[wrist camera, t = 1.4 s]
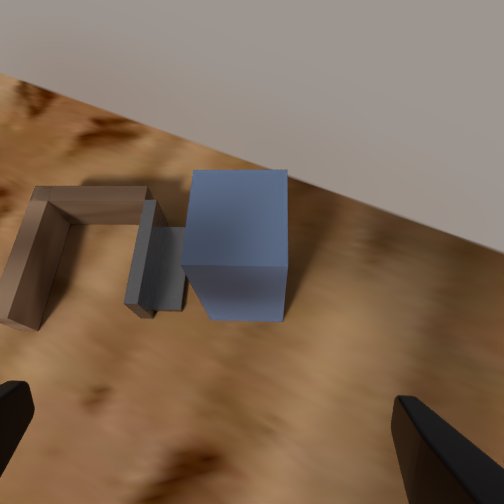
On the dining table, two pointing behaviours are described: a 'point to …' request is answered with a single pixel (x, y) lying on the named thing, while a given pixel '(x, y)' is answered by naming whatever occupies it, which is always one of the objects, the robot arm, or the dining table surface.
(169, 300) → the bookend
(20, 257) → the rack
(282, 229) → the book
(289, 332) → the dining table surface
